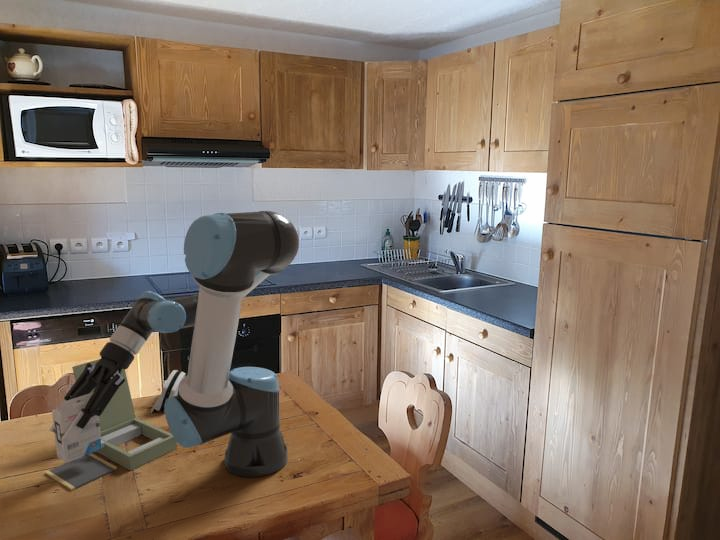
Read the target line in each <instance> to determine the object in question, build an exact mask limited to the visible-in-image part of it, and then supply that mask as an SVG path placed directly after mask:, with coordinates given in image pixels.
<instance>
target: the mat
mask: <svg viewBox="0 0 720 540" xmlns="http://www.w3.org/2000/svg"><path fill="white" fill-rule="evenodd" d="M118 469H119V468H118V467H117V466H115V465H114V464H112V463H110V462H109V461H107V460H105V459H103V458H102V457H99V456H97V455H96V454H94V453H90V454H88V455H85V456H83V457H81V458H78V459H75V460H73V461H70V462H68V463H66V462H64V463H63V464H61V465H59V466H56V467H54V468H51V469H49V470H48V469H47V470H45V471H44V474H45V475H46V476H48V477H50V479H53V480H54V481H55V482H57V483H59V484H60V485H61V486H63V487H65V488H66V489H68V490H69V491H71V492H73V491H74V490H76V489H78V488H81V487H83V486H85V485H88V484H90V483H92V482H93V481H96V480H98V479H101V478H102V477H105V476H107V475H109V474H111V473H112V472H115V471H117V470H118Z"/></svg>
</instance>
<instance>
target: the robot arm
mask: <svg viewBox="0 0 720 540" xmlns="http://www.w3.org/2000/svg"><path fill="white" fill-rule="evenodd" d="M183 243H184V244H183V254H184V255H185V258H184V263H185V266H186V269H187V271H188V273H190V274H191V275H192V277H193V280H194V282H195V283H196V284H197V285H198V286H199V289H198V294H193V295H188V296H182V297H178V298H171V299H166V298H164V297H163V296H162V295H160V294H158V293H156V292H154V291H153V292H152V291H151V290H146V291H143V292H142V294H140V296H139V297H138V298H137V299H136V300H135V302H134V304H133V305H132V306H131V308H130V310H129V311H128V313H127V314H126V315H125V316H124V318H123V320H122V321H121V323H120V324H119V325H118V326H117V327H116V329H115V330H114V332H113V333H112V334H111V336H110V337H109V341H108V342H106V344H105V345H104V346H103V348H102V349H101V350H100V352H99V356H100V358H99V359H100V360H99V361H98V362H97V363H96V364H94V365H92V364H90V363H88V364H87V365H86V367H85V369H84V371H83V373H82V374H81V375H80V377H79V378H78V379H77V381H75V382H74V383H73V384H72V386H71V387H70V389H69V390H68V392H66V394H65V395H64V397H63V399H64V401H68V400H71V399H74V398H77V397H80V396H83V395H87V394H89V393H90V392H91V391H92V390H93V389H94V388H95V389H94V391H93V392H94V393H93V394H92V396H91V397H90V399H89V401H88V403H87V405H86V407H85V409H81V411H80V412H79V414H78V415H77V417H76V418H75V419H74V421H73V422H72V424H71V425H70V427H69V428H68V430H67V431H66V432H65V434H64V435H63V437H62V438H64V439H66V440H68V441H70V442H72V443H73V442H74V441H75V439H76V438H77V436H78V435H79V433H80V432H81V430H82V429H83V428H84V427H85V426H86V424H87V423H88V421H89V420H90V418H91V417H93V416H96V415H97V416H100V415H101V414H102V412H103V411H104V409H105V408H106V406H107V405H108V403H109V402H110V400H111V399H112V397H113V396H114V394H115V393H116V391H117V390H118V388H119V387H120V386H121V385H122V384H123V383H124V382H125V378H123V377H121V375H120V374H121V371H122V369H125V370H127V369H129V367H130V366H131V364H132V363H133V361H134V360H135V355H138V353H139V352H140V350H141V349H142V347H143V346H144V344H145V343H146V342H147V341H148V339H149V337H151V335H152V334H153V333H154V332H156V333H161V334H168V333H175V332H177V331H179V330H181V329H186V328H190V327H193V333H192V339H191V348H190V352H189V353H190V355H189V360H188V368H187V369H188V371H187V375H185V377H184V378H183V379H182V380H181V381H180V383H179V387H178V394H177V395H176V396H171V397H170V398H168V399H166V401H165V405H164V408H163V409H165V413H164V414H165V415H164V416H165V419H166V420H165V421H166V423H167V425H168V426H167V427H168V428H169V431H170V433H171V434H172V435H173V437H174V438H175V440H176V441H177V445H180V447H183V448H185V449H186V448H189V449H190V448H193V447H196V446H201V445H203V444H205V443H209V442H210V441H214V440H216V439H218V438H221V437H224V436H226V435H229V434H230V436H229V439H228V443H227V448H226V450H225V452H224V466H225V468H226V470H227V471H228V472H230V473H231V474H233V475H235V476H238V477H242V478H243V477H245V478H258V477H264V476H265V477H266V476H268V475H271V474H274V473H276V472H278V471H279V470H281V469H282V468H283V467H284V466H286V465H287V462H288V458H289V457H288V447H287V445H286V443H285V438H284V437H283V434H282V431H281V427H280V422H281V421H280V390H281V389H280V385H279V384H280V383H279V378H278V376H277V374H276V373H275V372H274V371H272V370H270V369H268V368H264V367H257V366H243V367H242V366H241V367H240V366H239V367H237V368H233V369H231V366H232V360H233V353H234V349H235V344H236V340H237V339H236V338H237V333H238V331H237V330H238V326H239V322H240V321H239V320H240V315H241V309H242V304H243V298H245V297H246V296H247V295H248V294H249V293H250V292H251V291H253V290H254V289H255V288H257V286H258V285H260V284H261V283H262V282H263V281H264V280H266V279H267V278H269V276H271V275H273V276H274V275H277V274H279V273H281V272H282V271H284V270H285V269H286V268H287V267H289V265H290V264H291V263H292V262H293V261H294V259H295V258H296V256H297V254H298V251H299V245H300V239H299V233H298V231H297V229H296V228H295V225H294V224H293V222H292V221H291V220H289V218H288V217H286V216H284V215H282V214H281V213H279V212H276V211H271V210H260V211H250V212H249V211H248V212H232V213H231V212H230V213H225V212H216V213H214V214H206V215H202V216H200V217H198V218H197V219H195V220H194V221H192V223H191V224H190V225H189V227H188V229H187V231H186V234H185V236H184V241H183ZM77 402H80V400H79V401H77ZM77 402H76V403H77ZM98 409H99V410H98ZM82 411H83V412H82ZM48 430H49V431H50V432H52V433H54V424H52V425H51V426H50V428H49V429H48Z"/></svg>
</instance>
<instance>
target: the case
mask: <svg viewBox="0 0 720 540" xmlns="http://www.w3.org/2000/svg"><path fill="white" fill-rule="evenodd" d="M100 359H101V358H99V359H94V360H92V361H87V362H85V363H81V364H78V365H77V364H76V365H74V366H72V367H71V368H72V372H73V377H74V380H75V382H76V381H77V379H78V378H79V377H80V375H81V374H82V373H83V371H84V369H85V367H86V365H87V364H88V363H90V364H92V365H94V364H96V363H97V362H98V361H99V360H100ZM126 373H127V372H126V369H122V371H121V374H120V375H121V377H123V378H125V382H124V383H123V384H122V385H121V386H120V387H119V388H118V390H117V391H116V393H115V394H114V396H113V397H112V399H111V400H110V402H109V403H108V405H107V406H106V408H105V409H104V411H103V412H102V414H101V415H100V416H99V425H100V436H101V446H102V449H100V450H98V451H95V453H98V454H100V455H101V456H103V457H105V458H106V459H108V460H110V461H113V462H114V463H116V464H117V465H120V466H122V467H123V468H125V469H127V470H128V471H133V470H135V469H137V468H139V467H141V466H143V465H145V464H148V463H149V462H152V461H153V460H156V459H159V458H160V457H162V456H163V455H165V454H168V453H170V452H173V451H175V450H177V449H178V442H177V441H176V440H175V438H174V437H173V435H172V433H171V432H169V431H166V430H164V429H163V428H160V427H157V426H155V425H153V424H151V423H149V422H146V421H144V420H142V419H141V418H138V417H136V416H137V415H136V413H135V408H134V404H133V400H132V395H131V392H130V391H131V390H130V386H129V381H128V378H127V377H128V376H127V374H126ZM94 389H95V388H94ZM94 389H93V390H92V391H91V392H90V393H93V391H94ZM90 393H89V394H90ZM98 410H99V409H98ZM141 434H142V435H141ZM140 435H141V436H143V435H144V436H143V437H145V436H146V438H147V437H148V438H147V439H149V438H150V441H149V442H147V443H144V444H142V445H139V446H137V447H135V448H133V449H131V450H128V451H126V450H124V449H122V448H120V447H118V446H120V445H122V444H124V443H127V442H129V441H131V440H134V439H136V438H138V437H141V436H140ZM135 437H136V438H135Z"/></svg>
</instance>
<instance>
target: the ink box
mask: <svg viewBox="0 0 720 540" xmlns="http://www.w3.org/2000/svg"><path fill="white" fill-rule="evenodd" d="M93 393H94V392H93ZM93 393H90V394H87V395H83V396H80V397H77V398H74V399H71V400H68V401H66V400H64V401H62V402H60V404H59V408H56V409H52V410H51V412H52V413H51V415H52V423H53V424H54V432H53V433H54V440H55V449H56V450H55V451H56V457H57V458H58V459H60V460H61V461H63V462H64V463H68V462H70V461H73V460H75V459H78V458H81V457H83V456H85V455H88V454H90V453H92V454H94V453H96V451H98V450H100V449H102V446H101V436H100V425H99V416H97V415H96V416H93V417H91V418H90V420H89V421H88V423H87V424H86V426H85V427H84V428H83V429H82V430H81V432H80V433H79V435H78V436H77V438H76V439H75V441H74V442H73V443H72V442H70V441H68V440H66V439H64V438H62V437H63V435H64V434H65V432H66V431H67V430H68V428H69V427H70V425H71V424H72V422H73V421H74V419H75V418H76V417H77V415H78V414H79V412H80V411H81V409H85V407H86V405H87V403H88V401H89V399H90V397H91V396H92V394H93ZM79 400H80V402H77V401H79ZM76 402H77V403H76ZM82 412H83V411H82ZM53 424H52V425H53Z"/></svg>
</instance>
